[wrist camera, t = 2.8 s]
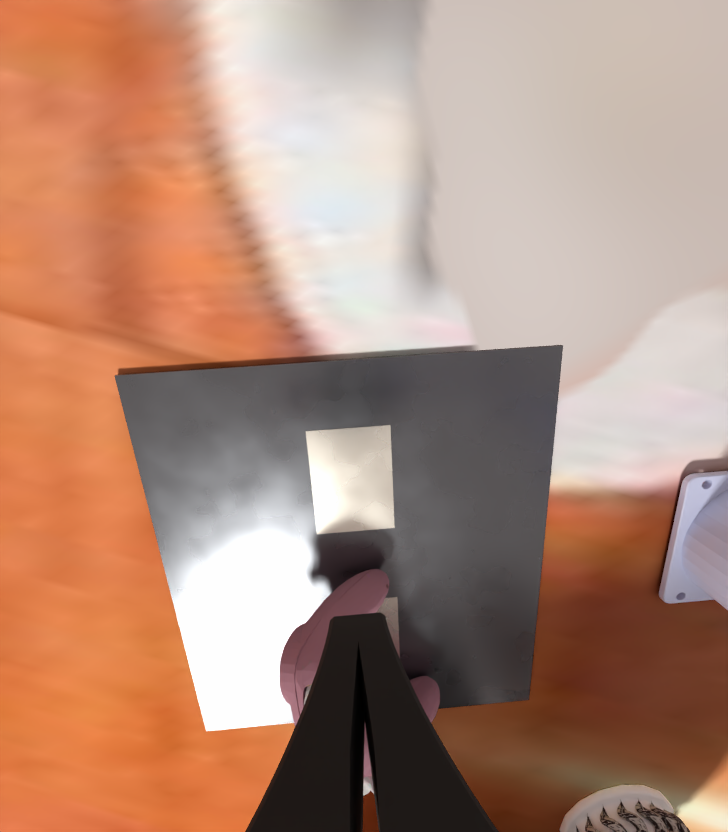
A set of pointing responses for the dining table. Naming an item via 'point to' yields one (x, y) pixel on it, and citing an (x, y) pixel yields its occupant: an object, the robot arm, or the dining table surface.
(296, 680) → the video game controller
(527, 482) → the panel
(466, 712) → the dining table surface
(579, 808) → the decorative candle
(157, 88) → the dining table surface
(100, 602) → the dining table surface
